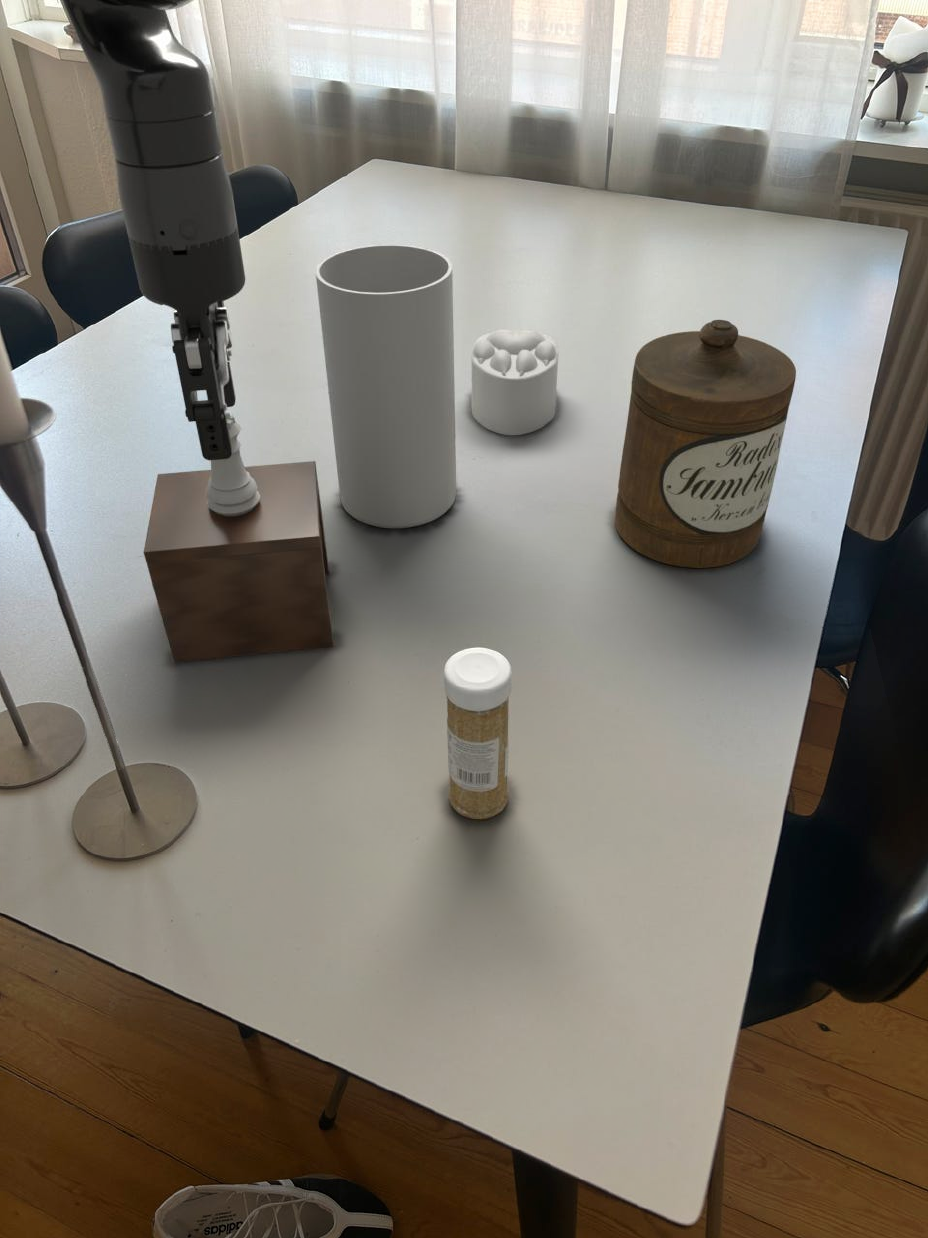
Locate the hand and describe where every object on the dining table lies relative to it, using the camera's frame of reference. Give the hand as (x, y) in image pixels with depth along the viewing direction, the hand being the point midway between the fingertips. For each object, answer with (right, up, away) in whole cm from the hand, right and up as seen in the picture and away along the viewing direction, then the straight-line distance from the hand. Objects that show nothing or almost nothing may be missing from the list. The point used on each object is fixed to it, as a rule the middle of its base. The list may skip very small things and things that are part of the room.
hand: (220, 430), depth 78 cm
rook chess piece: (0, -6, +4) cm, 7 cm away
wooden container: (+43, -6, +22) cm, 48 cm away
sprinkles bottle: (+21, -29, -5) cm, 36 cm away
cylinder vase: (+13, -2, +27) cm, 30 cm away
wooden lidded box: (0, -15, +12) cm, 19 cm away
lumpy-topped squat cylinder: (+26, +11, +42) cm, 50 cm away
